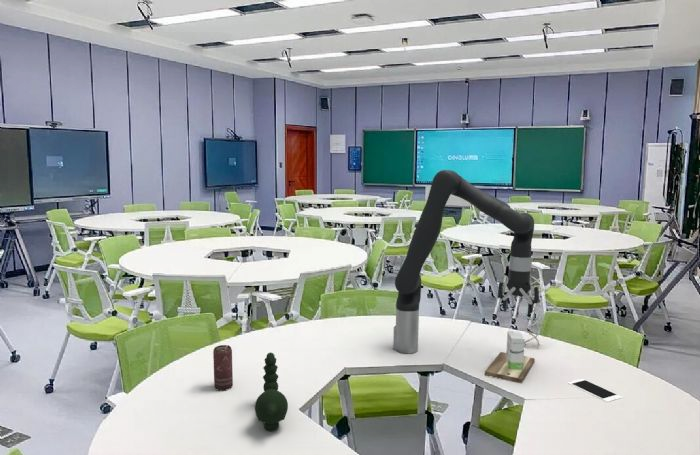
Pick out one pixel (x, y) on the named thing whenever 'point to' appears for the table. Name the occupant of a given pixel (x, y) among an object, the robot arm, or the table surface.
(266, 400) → the dark green knobbed piece
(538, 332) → the dna model
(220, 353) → the can
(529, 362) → the floorboard
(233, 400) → the table surface
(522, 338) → the ink box
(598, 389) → the cell phone
